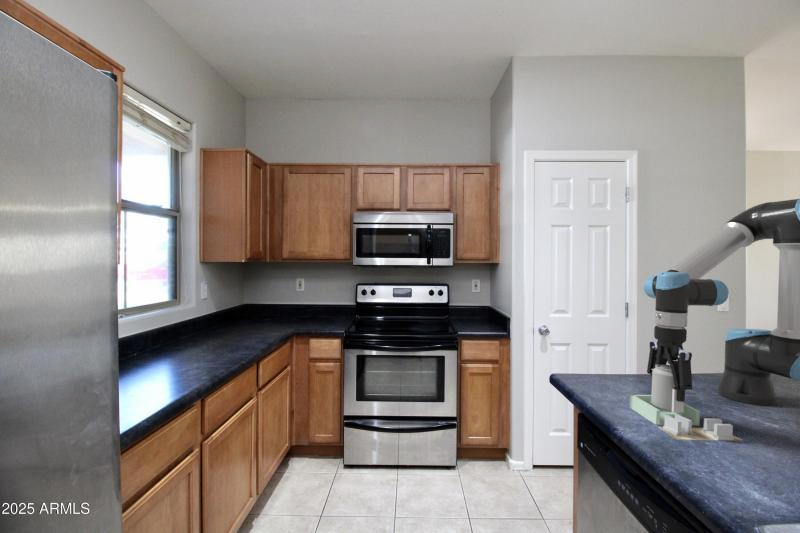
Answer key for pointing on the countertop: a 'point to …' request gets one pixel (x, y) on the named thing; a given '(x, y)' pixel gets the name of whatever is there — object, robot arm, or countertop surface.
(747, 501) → the countertop surface
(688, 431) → the clip
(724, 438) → the clip
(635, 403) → the green open box
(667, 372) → the can
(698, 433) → the board
